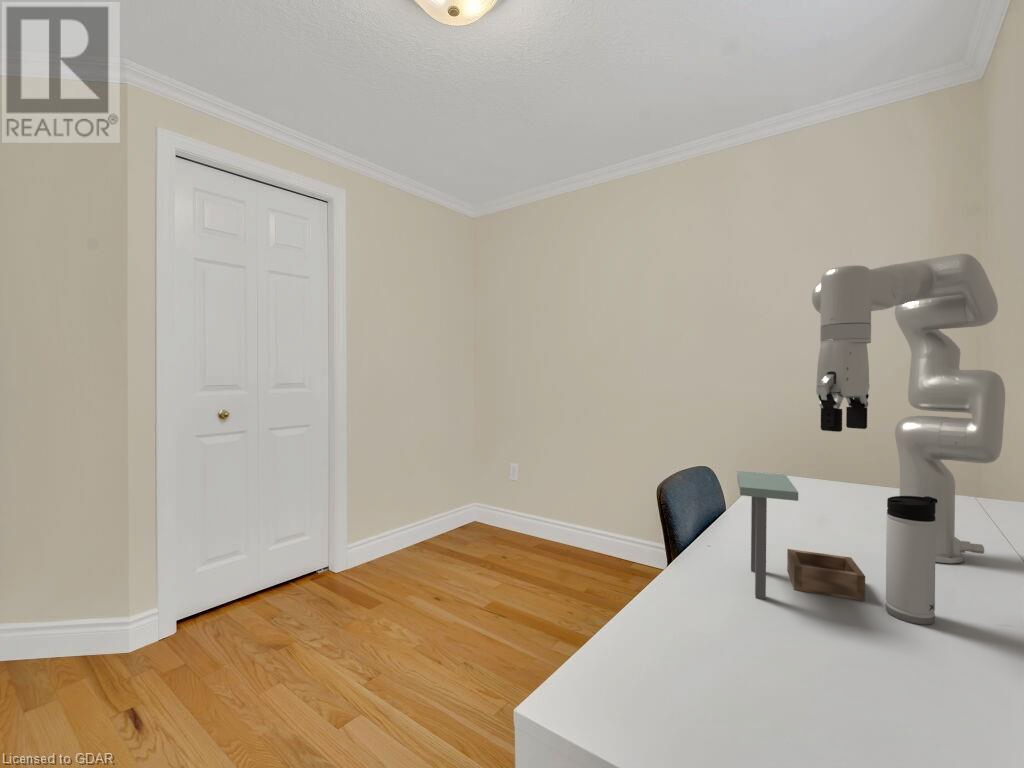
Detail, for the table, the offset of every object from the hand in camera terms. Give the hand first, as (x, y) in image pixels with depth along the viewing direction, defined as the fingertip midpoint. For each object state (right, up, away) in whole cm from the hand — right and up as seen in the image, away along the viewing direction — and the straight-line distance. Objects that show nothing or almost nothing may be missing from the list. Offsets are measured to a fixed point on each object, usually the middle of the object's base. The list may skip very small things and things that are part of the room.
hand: (844, 429), depth 85 cm
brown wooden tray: (-1, -30, +5) cm, 31 cm away
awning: (-13, -30, +5) cm, 33 cm away
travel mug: (+6, -31, -7) cm, 32 cm away
